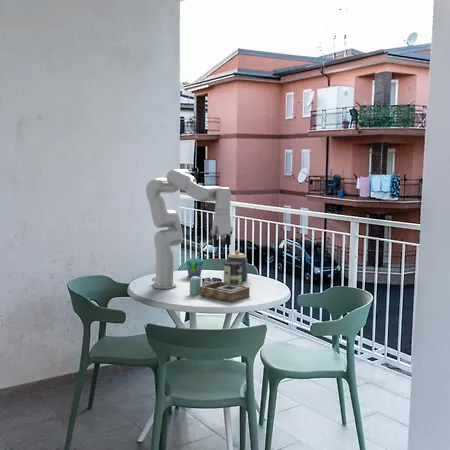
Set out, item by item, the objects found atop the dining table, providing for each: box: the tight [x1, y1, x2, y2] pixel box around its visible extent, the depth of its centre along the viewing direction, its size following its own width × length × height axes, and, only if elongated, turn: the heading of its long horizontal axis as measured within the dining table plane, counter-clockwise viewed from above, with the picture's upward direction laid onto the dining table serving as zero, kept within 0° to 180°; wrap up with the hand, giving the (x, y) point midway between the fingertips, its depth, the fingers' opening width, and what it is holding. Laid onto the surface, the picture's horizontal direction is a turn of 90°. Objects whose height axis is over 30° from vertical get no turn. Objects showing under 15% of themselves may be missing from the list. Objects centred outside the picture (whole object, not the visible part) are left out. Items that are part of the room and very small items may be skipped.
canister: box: [225, 249, 249, 282], centre depth 304 cm, size 13×13×18 cm
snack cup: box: [185, 257, 204, 278], centre depth 311 cm, size 16×10×10 cm
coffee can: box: [223, 261, 243, 286], centre depth 284 cm, size 10×10×14 cm
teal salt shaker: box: [189, 276, 202, 296], centre depth 270 cm, size 4×4×9 cm
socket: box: [216, 285, 243, 292], centre depth 264 cm, size 10×10×4 cm
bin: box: [199, 281, 250, 304], centre depth 266 cm, size 20×16×5 cm
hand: (221, 245), depth 258 cm, fingers open, 9 cm apart
